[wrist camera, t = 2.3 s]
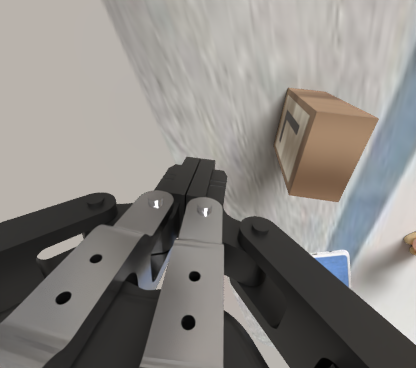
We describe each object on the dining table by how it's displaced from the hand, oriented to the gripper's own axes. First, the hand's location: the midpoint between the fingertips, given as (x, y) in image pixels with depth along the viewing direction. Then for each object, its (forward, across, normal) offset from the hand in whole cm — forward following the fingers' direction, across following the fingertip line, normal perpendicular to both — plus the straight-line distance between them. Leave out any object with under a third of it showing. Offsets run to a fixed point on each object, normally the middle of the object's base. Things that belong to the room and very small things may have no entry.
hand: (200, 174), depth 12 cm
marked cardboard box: (+14, -8, 0) cm, 16 cm away
